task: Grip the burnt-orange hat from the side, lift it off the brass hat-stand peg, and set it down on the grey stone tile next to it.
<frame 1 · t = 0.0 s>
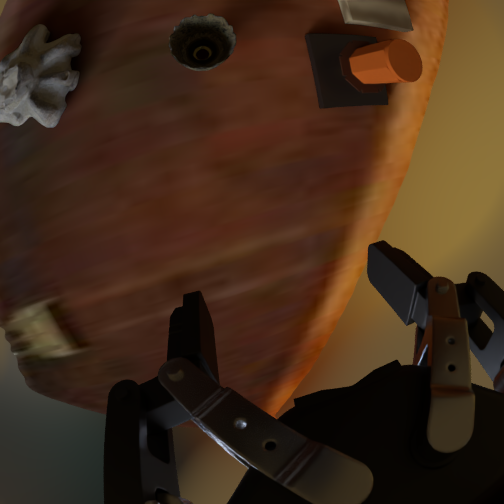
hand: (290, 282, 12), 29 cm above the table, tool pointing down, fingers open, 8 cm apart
fossil: (39, 73, 24), on the table
hat stand: (347, 70, 33), on the table
hat: (365, 66, 28), point 5 cm above the table, touching hat stand
dark ridged round part: (202, 54, 29), on the table
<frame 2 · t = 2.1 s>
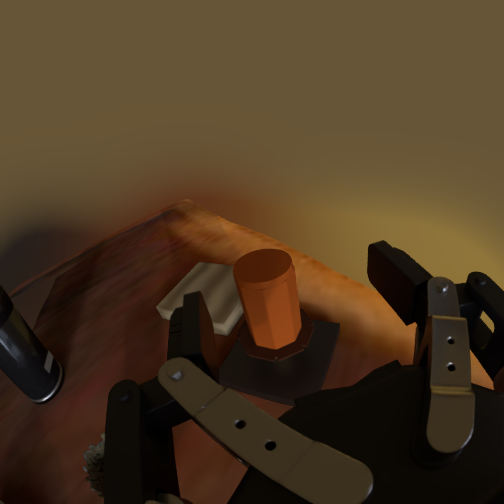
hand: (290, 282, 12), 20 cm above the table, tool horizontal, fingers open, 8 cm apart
grey stone tile: (213, 299, 44), on the table
hat stand: (281, 358, 32), on the table
hat: (275, 331, 29), point 5 cm above the table, touching hat stand
dark ridged round part: (159, 485, 19), on the table
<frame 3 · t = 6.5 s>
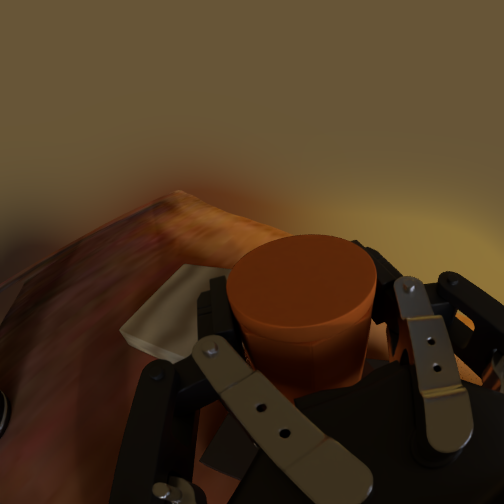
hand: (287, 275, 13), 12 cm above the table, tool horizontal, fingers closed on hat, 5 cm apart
grey stone tile: (202, 320, 29), on the table
hat stand: (313, 425, 17), on the table
hat: (311, 394, 14), point 5 cm above the table, touching gripper, hat stand
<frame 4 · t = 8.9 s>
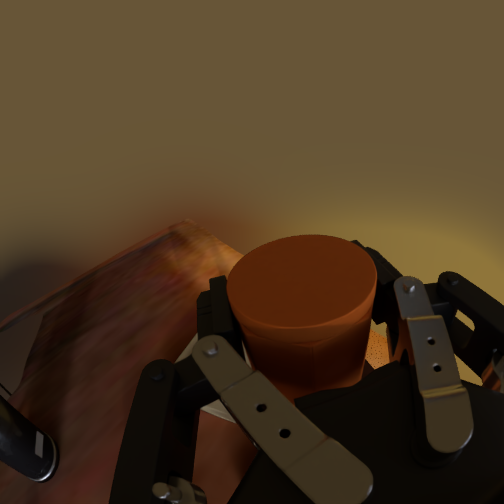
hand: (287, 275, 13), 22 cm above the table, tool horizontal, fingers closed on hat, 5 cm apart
grey stone tile: (228, 372, 34), on the table
hat: (311, 394, 14), point 15 cm above the table, touching gripper
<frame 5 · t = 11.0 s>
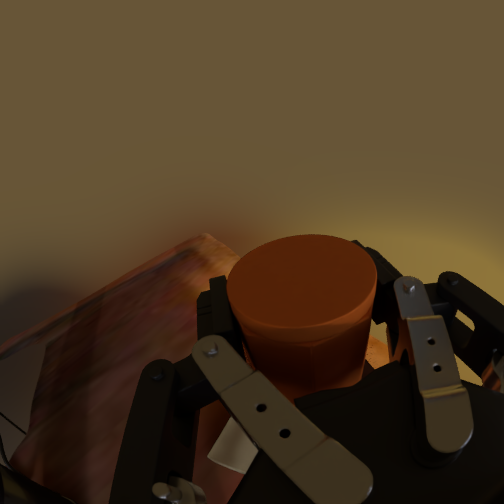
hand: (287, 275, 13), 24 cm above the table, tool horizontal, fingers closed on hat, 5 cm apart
grey stone tile: (286, 435, 26), on the table
hat: (311, 394, 14), point 17 cm above the table, touching gripper
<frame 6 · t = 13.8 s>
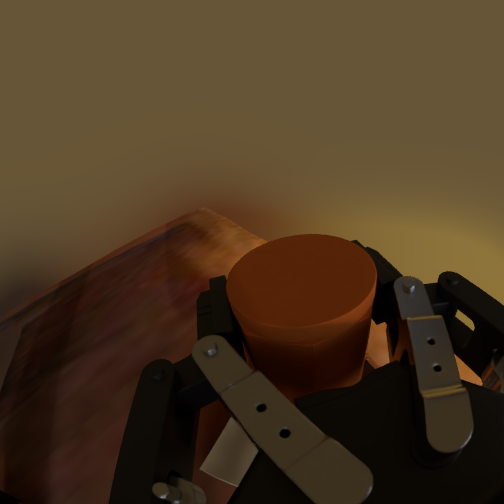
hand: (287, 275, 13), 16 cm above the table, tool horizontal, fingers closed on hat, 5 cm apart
grey stone tile: (311, 437, 18), on the table
hat: (311, 394, 14), point 9 cm above the table, touching gripper
when the fingers open (10 cm above the table, at t = 16.0 s): hat stays where it is, resting on grey stone tile.
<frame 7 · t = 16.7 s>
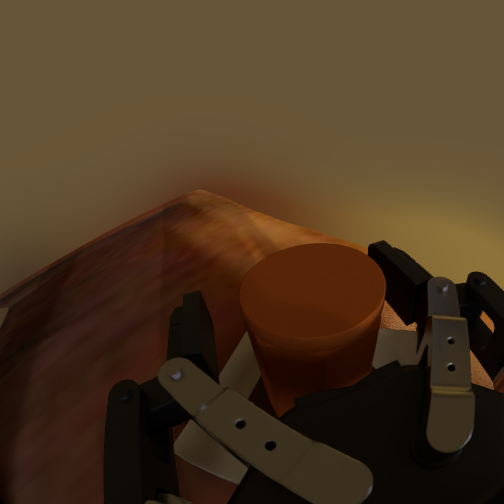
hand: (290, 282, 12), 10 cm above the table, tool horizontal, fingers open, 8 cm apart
grey stone tile: (312, 414, 15), on the table
hat: (318, 398, 14), point 2 cm above the table, touching grey stone tile
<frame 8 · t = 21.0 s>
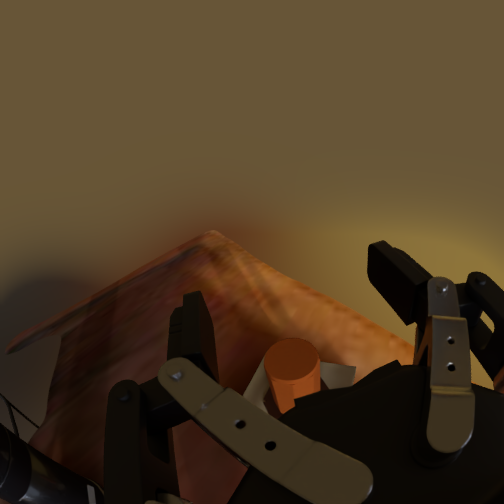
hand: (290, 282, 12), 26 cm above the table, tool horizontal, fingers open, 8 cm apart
grey stone tile: (295, 407, 31), on the table
hat: (297, 398, 30), point 2 cm above the table, touching grey stone tile
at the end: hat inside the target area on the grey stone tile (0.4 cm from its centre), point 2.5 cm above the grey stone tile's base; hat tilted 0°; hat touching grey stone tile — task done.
